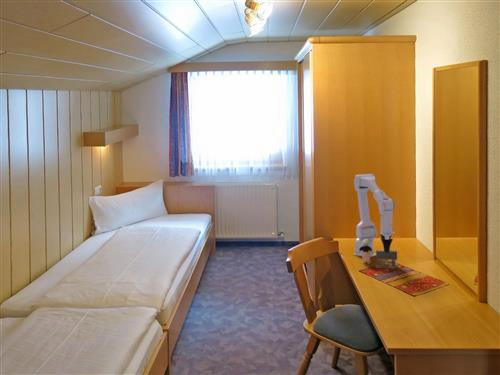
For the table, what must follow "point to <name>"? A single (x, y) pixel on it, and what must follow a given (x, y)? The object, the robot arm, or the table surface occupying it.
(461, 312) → the table surface
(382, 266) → the stand
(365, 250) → the grandmother figurine
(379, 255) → the bar
